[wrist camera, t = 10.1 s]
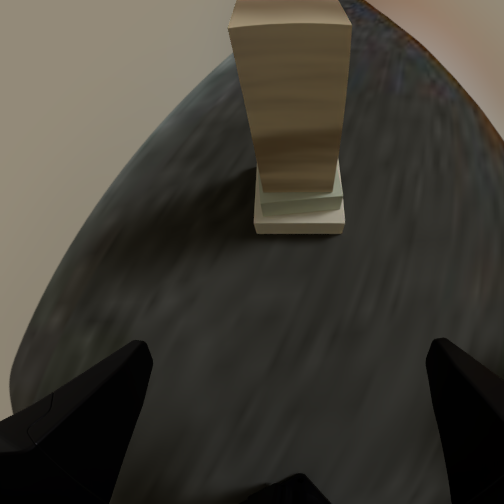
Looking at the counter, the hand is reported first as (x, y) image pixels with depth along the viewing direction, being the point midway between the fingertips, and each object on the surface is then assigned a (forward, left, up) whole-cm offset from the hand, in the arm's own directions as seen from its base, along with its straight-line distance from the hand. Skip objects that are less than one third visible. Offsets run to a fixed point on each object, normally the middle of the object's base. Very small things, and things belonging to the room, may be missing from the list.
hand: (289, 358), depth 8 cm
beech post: (+11, -9, -10) cm, 17 cm away
